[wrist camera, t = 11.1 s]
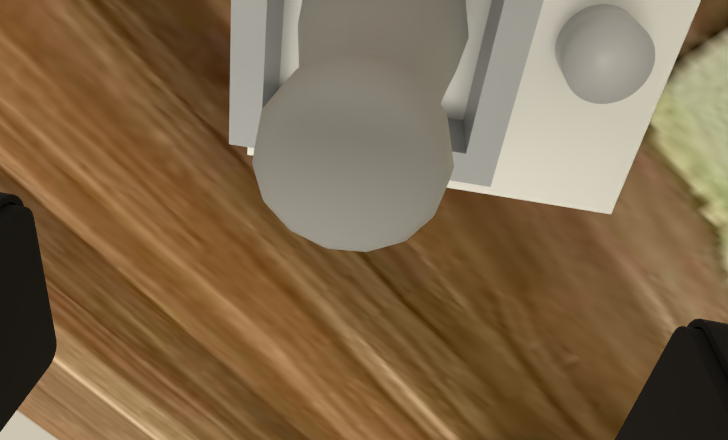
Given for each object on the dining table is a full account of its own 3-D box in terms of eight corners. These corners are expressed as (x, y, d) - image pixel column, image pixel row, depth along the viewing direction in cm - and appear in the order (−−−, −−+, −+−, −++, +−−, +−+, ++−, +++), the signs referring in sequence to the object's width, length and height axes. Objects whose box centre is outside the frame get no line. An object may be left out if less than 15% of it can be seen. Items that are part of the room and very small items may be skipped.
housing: (754, -161, 20) (817, -156, 17) (605, 202, 28) (628, 255, 25) (267, -239, 20) (235, -249, 17) (253, 144, 28) (228, 189, 25)
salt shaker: (279, -10, 23) (143, 143, 12) (407, -111, 21) (378, -29, 10) (370, 112, 26) (322, 332, 15) (494, 33, 23) (545, 223, 13)
